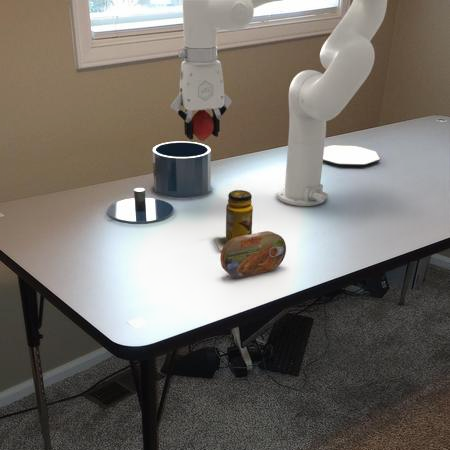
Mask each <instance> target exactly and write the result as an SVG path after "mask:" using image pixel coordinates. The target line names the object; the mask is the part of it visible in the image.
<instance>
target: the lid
mask: <svg viewBox="0 0 450 450" xmlns="http://www.w3.org/2000/svg"><path fill="white" fill-rule="evenodd" d="M174 212H175V211H174V206H173V205H172V204H171V203H170V202H168V201H165V200H163V199H162V200H161V199H158V198H151V197H146V189H145V188H144V187H136V188H134V189H133V197H132V198H126V199H122V200H118V201H116V202H114V203H112V204H111V205H109V206H108V207H107V215H108V216H109V217H110V218H111V219H112V220H114V221H116V222H120V223H124V224H134V225H135V224H137V225H141V224H142V225H144V224H145V225H147V224H152V223H154V224H155V223H159V222H161V221H165V220H167V219H169V218H170V217H172V216H173V214H174Z"/></svg>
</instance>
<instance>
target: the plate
mask: <svg viewBox="0 0 450 450" xmlns="http://www.w3.org/2000/svg"><path fill="white" fill-rule="evenodd" d="M380 160H381V158H380V155H378V153H377V151H376V150H372V149H369V148H365V147H361V146H357V145H327V146H324V154H323V162H327V163H331V164H335V165H338V166H367V165H370V164H373V163H376V162H379V161H380Z"/></svg>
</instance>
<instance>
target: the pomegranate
mask: <svg viewBox="0 0 450 450" xmlns="http://www.w3.org/2000/svg"><path fill="white" fill-rule="evenodd" d="M212 117H213V116H212V115H211V114H210V113H209V112H208V111H206V110H197V111H195V113H193V115H192V117H191V122H192V123H193V136H195V138H197V139H198V141H200V142H204V141H206V140H207V139H208V138H209V137H210V136H212V132H213V130H214V121H213V119H212Z"/></svg>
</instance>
